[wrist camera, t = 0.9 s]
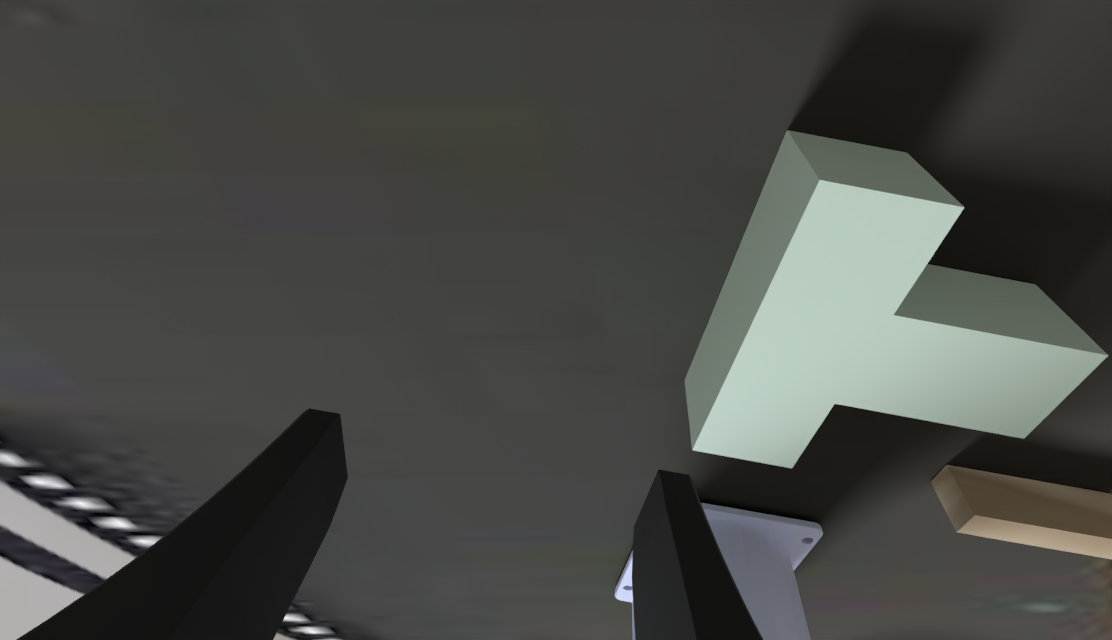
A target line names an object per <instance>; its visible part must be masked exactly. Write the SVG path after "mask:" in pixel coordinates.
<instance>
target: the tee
mask: <svg viewBox="0 0 1112 640" xmlns="http://www.w3.org/2000/svg"><path fill="white" fill-rule="evenodd" d="M964 208H965V207H964V206H963V205H962V204H961V203H959V202H958V201H957V200H956V199H955V198H954V197H953V196H952V195H951V194H950V193H949V192H948V191H947V190H946V189H945V188H944V187H943V186H942V185H941V184H939V183H938V182H937V181H936V180H935V179H934V178H933V177H932V176H931V175H930V174H929V173H928V172H927V171H926V170H925V169H924V168H923V167H922V166H921V165H919V164H918V163H917V162H916V161H915V160H914V159H913V158H912V157H911V156H910V155H909V154H908V153H906V152H901V151H896V150H890V149H885V148H880V147H875V146H869V145H864V144H859V143H853V142H848V141H843V140H837V139H832V138H827V137H821V136H816V135H811V134H805V133H800V132H795V131H789V130H787V131H786V134H785V136H784V139H783V141H782V144H781V146H780V148H779V151H778V153H777V156H776V158H775V161H774V163H773V166H772V168H771V170H770V173H769V175H768V178H767V180H766V183H765V185H764V188H763V190H762V192H761V195H760V197H759V200H758V202H757V205H756V207H755V209H754V212H753V214H752V217H751V219H750V222H749V224H748V227H747V229H746V231H745V234H744V236H743V239H742V241H741V244H740V246H739V249H738V251H737V253H736V256H735V258H734V261H733V263H732V266H731V268H730V271H729V273H728V275H727V278H726V280H725V283H724V285H723V288H722V290H721V293H720V295H719V297H718V300H717V302H716V305H715V307H714V310H713V312H712V315H711V317H710V319H709V322H708V324H707V327H706V329H705V332H704V334H703V337H702V339H701V341H700V344H699V346H698V349H697V351H696V354H695V356H694V359H693V361H692V363H691V366H690V368H689V371H688V373H687V376H686V378H685V380H684V381H685V390H686V399H687V408H688V417H689V426H690V435H691V443H692V450H694V451H699V452H705V453H710V454H716V455H721V456H727V457H732V458H738V459H743V460H748V461H754V462H759V463H765V464H770V465H776V466H781V467H786V468H793V466H794V465H795V463H796V462H797V460H798V459H799V457H800V456H801V454H802V453H803V451H804V450H805V448H806V447H807V445H808V444H809V442H810V440H811V439H812V437H813V436H814V434H815V433H816V431H817V430H818V428H819V427H820V425H821V424H822V422H823V421H824V419H825V418H826V416H827V415H828V413H829V412H830V410H831V409H832V407H833V406H834V404H839V405H844V406H850V407H855V408H861V409H866V410H871V411H877V412H882V413H888V414H893V415H898V416H904V417H909V418H914V419H920V420H925V421H931V422H936V423H941V424H947V425H952V426H958V427H963V428H968V429H974V430H979V431H985V432H990V433H995V434H1001V435H1006V436H1012V437H1017V438H1022V439H1024V438H1025V437H1026V436H1027V435H1028V434H1029V433H1030V432H1031V431H1032V430H1033V429H1034V428H1035V427H1036V426H1037V425H1038V424H1039V423H1040V422H1041V421H1042V420H1044V419H1045V418H1046V417H1047V416H1048V415H1049V414H1050V413H1051V412H1052V411H1053V410H1054V409H1055V408H1056V407H1057V406H1058V405H1059V404H1060V403H1061V402H1062V401H1063V400H1064V399H1065V398H1066V397H1067V396H1068V395H1069V394H1070V393H1071V392H1072V391H1073V390H1074V389H1075V388H1076V387H1077V386H1078V385H1079V384H1080V383H1081V382H1082V381H1083V380H1084V379H1085V378H1086V377H1087V376H1088V375H1089V374H1090V373H1091V372H1092V371H1093V370H1094V369H1095V368H1096V367H1097V366H1098V365H1099V364H1100V363H1101V362H1102V361H1103V360H1104V359H1105V358H1107V357H1108V356H1109V355H1108V354H1106V353H1105V352H1104V351H1103V350H1102V349H1101V348H1100V347H1099V346H1098V345H1097V344H1096V343H1095V342H1094V341H1093V340H1092V339H1091V338H1090V337H1089V336H1088V335H1087V334H1086V333H1085V332H1084V331H1083V330H1082V329H1081V328H1080V327H1079V326H1078V325H1077V324H1076V323H1075V322H1074V321H1073V320H1072V319H1071V318H1070V317H1068V316H1067V315H1066V314H1065V313H1064V312H1063V311H1062V310H1061V309H1060V308H1059V307H1058V306H1057V305H1056V304H1055V303H1054V302H1053V301H1052V300H1051V299H1050V298H1049V297H1048V296H1047V295H1046V294H1045V293H1044V292H1043V291H1042V290H1041V289H1040V288H1039V287H1038V286H1037V285H1036V284H1031V283H1026V282H1020V281H1015V280H1010V279H1004V278H999V277H994V276H989V275H983V274H978V273H973V272H967V271H962V270H957V269H951V268H946V267H941V266H936V265H930V264H928V262H929V261H930V259H931V258H932V256H933V255H934V253H935V252H936V250H937V249H938V247H939V245H940V244H941V242H942V241H943V239H944V238H945V236H946V235H947V233H948V232H949V230H950V229H951V227H952V226H953V224H954V223H955V221H956V220H957V218H958V217H959V215H960V214H961V212H962V211H963V209H964Z"/></svg>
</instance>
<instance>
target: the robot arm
mask: <svg viewBox="0 0 1112 640" xmlns="http://www.w3.org/2000/svg"><path fill="white" fill-rule="evenodd" d="M347 478H348V476H347V467H346V459H345V451H344V443H343V434H342V426H341V418H340V414H337V413H332V412H326V411H320V410H314V409H308V410H306V411H305V412H303V413H302V414H301V415H300V416H299V417H298V418H297V419H296V420H295V421H294V422H293V423H292V424H291V425H290V426H289V427H288V428H287V429H286V430H285V431H284V432H283V433H282V434H281V435H280V436H279V437H278V438H277V439H276V440H274V441H273V442H272V443H271V444H270V445H269V446H268V447H267V448H266V449H265V450H264V451H263V452H262V453H261V454H260V455H258V456H257V457H256V458H255V459H254V460H253V461H252V462H251V463H250V464H249V465H248V466H247V467H245V468H244V469H243V470H242V471H241V472H240V473H239V474H237V475H236V476H235V477H234V478H233V479H232V480H231V481H230V482H228V483H227V484H226V485H225V486H224V487H223V488H222V489H221V490H219V491H218V492H217V493H216V494H215V495H214V496H213V497H211V498H210V499H209V500H208V501H207V502H206V503H204V504H203V505H202V506H201V507H199V508H198V509H197V510H196V511H195V512H193V513H192V514H191V515H190V516H188V517H187V518H186V519H185V520H183V521H182V522H181V523H180V524H179V525H177V526H176V527H175V528H174V529H172V530H171V531H170V532H169V533H168V534H166V535H165V536H164V537H163V538H161V539H160V540H159V541H157V542H156V543H155V544H154V545H152V546H151V547H150V548H148V549H147V550H146V551H144V552H143V553H142V554H141V555H139V556H138V557H137V558H135V559H134V560H132V561H131V562H130V563H129V564H127V565H126V566H124V567H123V568H122V569H120V570H119V571H118V572H116V573H115V574H113V575H112V576H110V577H109V578H108V579H106V580H105V581H104V582H102V583H101V584H99V585H98V586H96V587H95V588H94V589H92V590H91V591H89V592H88V593H86V594H85V595H83V596H82V597H80V598H79V599H77V600H76V601H74V602H73V603H72V604H70V605H69V606H67V607H66V608H64V609H63V610H61V611H60V612H58V613H57V614H56V615H54V616H52V617H51V618H50V619H48V620H46V621H45V622H43V623H42V624H40V625H39V626H37V627H35V628H34V629H32V630H31V631H29V632H28V633H26V634H25V635H23V636H21V637H20V638H18V639H17V640H273V639H274V637H275V635H276V633H277V631H278V629H279V627H280V625H281V623H282V621H283V619H284V617H285V615H286V613H287V611H288V609H289V607H290V605H291V603H292V601H293V599H294V597H295V595H296V593H297V591H298V589H299V587H300V585H301V583H302V581H303V579H304V577H305V575H306V573H307V571H308V569H309V567H310V565H311V563H312V561H313V559H314V557H315V555H316V553H317V551H318V549H319V547H320V545H321V543H322V541H323V539H324V537H325V535H326V533H327V531H328V529H329V527H330V524H331V522H332V519H333V516H334V514H335V511H336V509H337V506H338V503H339V500H340V498H341V495H342V492H343V489H344V486H345V484H346V481H347ZM822 535H823V531H822V528H821V525H819V524H818V523H815V522H810V521H805V520H799V519H793V518H787V517H781V516H776V515H770V514H764V513H758V512H753V511H747V510H741V509H735V508H730V507H724V506H718V505H712V504H707V503H701V502H700V499H699V497H698V494H697V491H696V489H695V486H694V483H693V480H692V479H691V477H690V476H689V475H686V474H681V473H675V472H669V471H664V470H658V472H657V475H656V477H655V479H654V482H653V484H652V486H651V489H650V491H649V493H648V496H647V498H646V500H645V503H644V505H643V507H642V510H641V512H640V514H639V517H638V519H637V521H636V524H635V526H634V539H633V550H632V552H631V555H630V557H629V559H628V561H627V564H626V566H625V568H624V570H623V573H622V575H621V577H620V579H619V582H618V584H617V586H616V588H615V597H616V598H617V599H619V600H622V601H627V602H632V632H633V640H811V638H810V634H809V630H808V626H807V622H806V618H805V615H804V611H803V607H802V603H801V599H800V595H799V591H798V587H797V583H796V579H795V575H794V570H795V569H796V568H797V566H798V565H799V564H800V563H801V561H802V560H803V559H804V558H805V556H806V555H807V554H808V553H809V552H810V550H811V549H812V548H813V547H814V545H815V544H816V543H817V542H818V540H819V539H820V538H821V537H822Z"/></svg>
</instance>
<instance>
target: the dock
mask: <svg viewBox="0 0 1112 640" xmlns="http://www.w3.org/2000/svg"><path fill="white" fill-rule="evenodd" d="M931 484H932V486H933V488H934V490H935V491H936V493H937V495H938V497H939V499H940V501H941V503H942V505H943V507H944V509H945V511H946V513H947V515H948V517H949V518H950V520H951V522H952V524H953V526H954V528H955V530H956V532H958V533H964V534H970V535H975V536H981V537H987V538H993V539H998V540H1004V541H1010V542H1016V543H1021V544H1027V545H1033V546H1039V547H1044V548H1050V549H1056V550H1062V551H1067V552H1073V553H1079V554H1084V555H1090V556H1096V557H1102V558H1107V559H1112V494H1110V493H1105V492H1099V491H1093V490H1088V489H1082V488H1076V487H1071V486H1065V485H1059V484H1054V483H1048V482H1042V481H1037V480H1031V479H1025V478H1020V477H1014V476H1008V475H1003V474H997V473H991V472H986V471H980V470H974V469H969V468H963V467H957V466H952V465H946V466H945V467H944V468H943V469H942V470H941V471H940V472H939V473H938V474H937V475H936V477H935V478H934V479H933V480H932V481H931Z"/></svg>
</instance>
